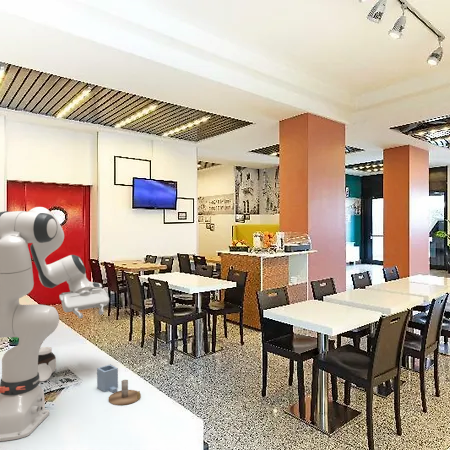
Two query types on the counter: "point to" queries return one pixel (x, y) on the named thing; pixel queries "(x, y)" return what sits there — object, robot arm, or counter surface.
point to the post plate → (123, 400)
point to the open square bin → (107, 378)
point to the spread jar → (46, 363)
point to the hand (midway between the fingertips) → (91, 315)
